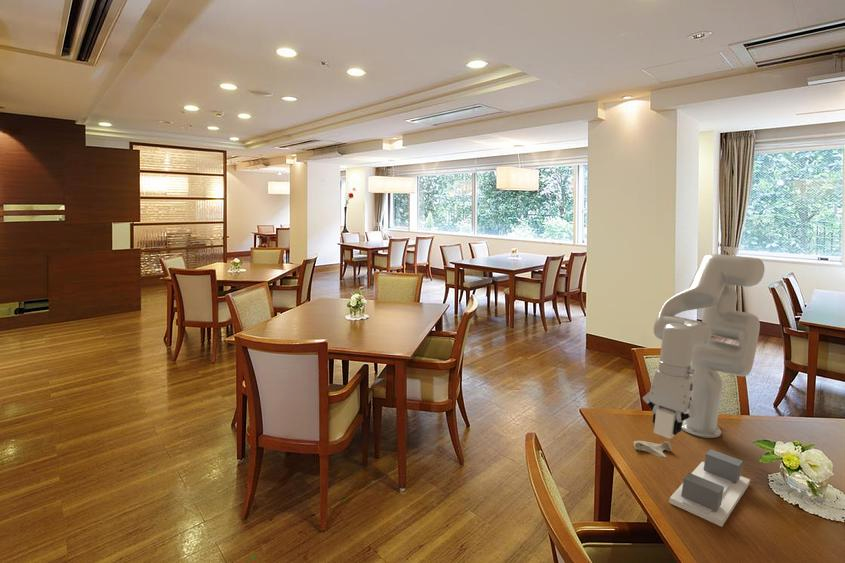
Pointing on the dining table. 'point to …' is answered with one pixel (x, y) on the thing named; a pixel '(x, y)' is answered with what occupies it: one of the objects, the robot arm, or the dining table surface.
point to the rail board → (725, 499)
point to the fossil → (652, 447)
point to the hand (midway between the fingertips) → (666, 428)
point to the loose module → (665, 422)
